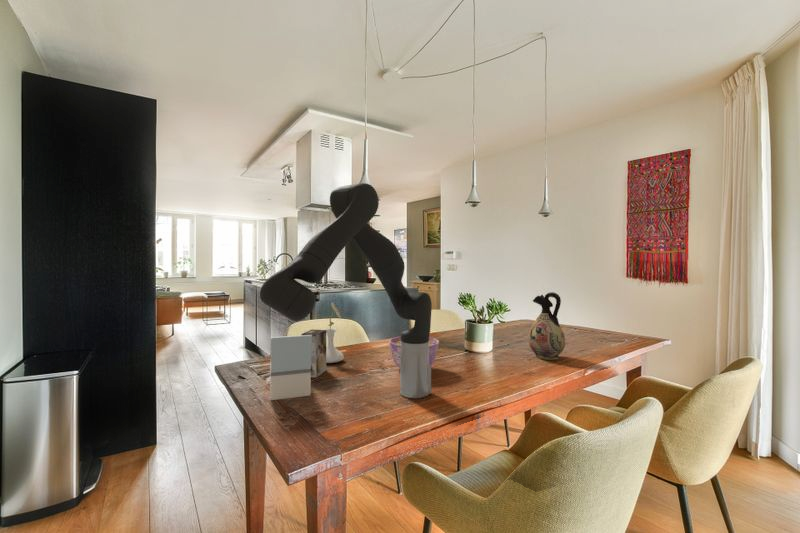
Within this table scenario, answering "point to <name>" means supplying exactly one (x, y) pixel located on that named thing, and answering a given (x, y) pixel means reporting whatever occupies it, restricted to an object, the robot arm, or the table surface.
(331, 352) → the flower in vase
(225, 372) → the table surface
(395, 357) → the purple patterned bowl
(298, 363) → the lid
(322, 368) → the coffee box
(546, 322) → the ceramic jug
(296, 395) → the crate
